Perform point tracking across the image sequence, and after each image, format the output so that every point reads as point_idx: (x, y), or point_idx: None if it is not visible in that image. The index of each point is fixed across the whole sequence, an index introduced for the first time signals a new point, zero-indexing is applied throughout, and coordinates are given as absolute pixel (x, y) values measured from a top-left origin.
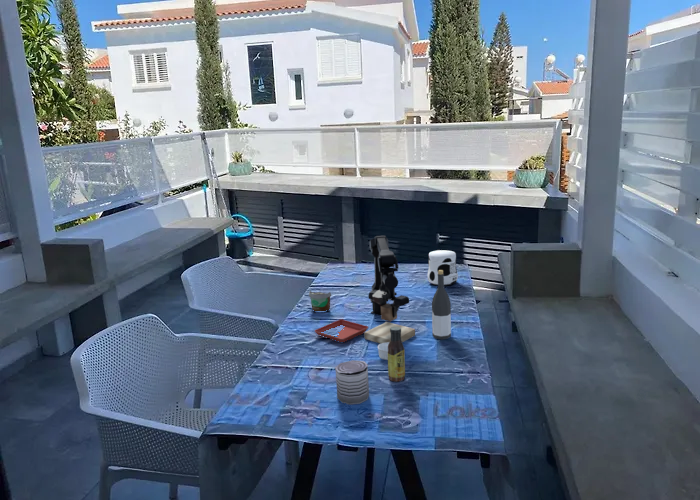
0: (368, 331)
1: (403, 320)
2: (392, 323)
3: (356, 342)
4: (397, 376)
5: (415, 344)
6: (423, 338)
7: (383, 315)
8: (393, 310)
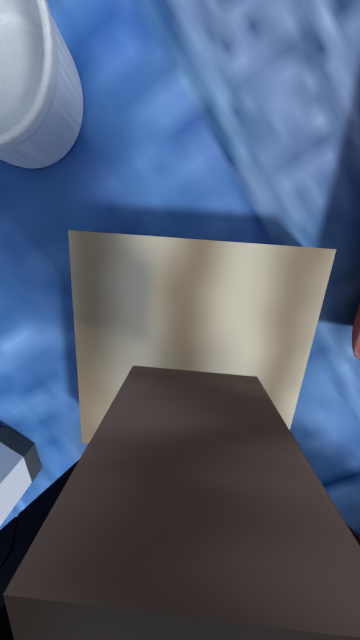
0: (314, 282)
1: None
2: None
3: (330, 172)
4: None
5: (26, 330)
6: (46, 405)
7: (233, 407)
8: (9, 542)
